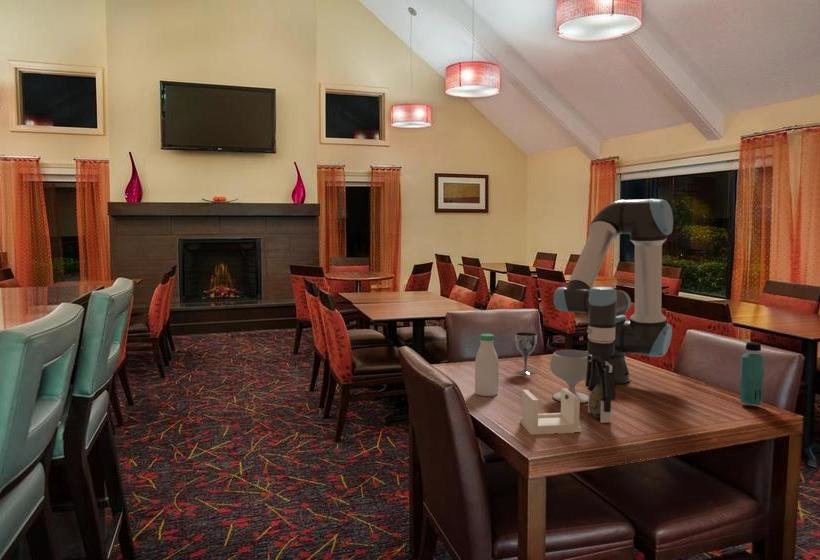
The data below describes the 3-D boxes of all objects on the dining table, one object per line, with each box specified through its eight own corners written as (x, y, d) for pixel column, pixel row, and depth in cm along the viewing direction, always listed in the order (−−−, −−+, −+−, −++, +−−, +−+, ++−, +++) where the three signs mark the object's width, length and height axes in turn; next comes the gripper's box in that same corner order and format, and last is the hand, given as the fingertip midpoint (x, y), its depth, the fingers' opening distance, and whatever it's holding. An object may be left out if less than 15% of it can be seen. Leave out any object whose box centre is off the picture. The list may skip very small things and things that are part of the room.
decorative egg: (609, 422, 170) (610, 388, 169) (587, 420, 172) (588, 386, 172) (610, 416, 176) (611, 382, 175) (589, 413, 178) (590, 381, 177)
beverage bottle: (754, 410, 180) (757, 345, 178) (733, 404, 186) (736, 341, 184) (767, 407, 183) (771, 343, 181) (746, 401, 189) (750, 339, 187)
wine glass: (539, 371, 227) (539, 333, 226) (531, 376, 221) (532, 336, 219) (519, 369, 232) (520, 331, 230) (511, 373, 225) (512, 334, 223)
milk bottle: (497, 397, 195) (498, 337, 193) (473, 396, 196) (474, 336, 194) (498, 390, 202) (499, 332, 200) (475, 389, 204) (476, 332, 202)
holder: (567, 420, 172) (568, 388, 171) (580, 432, 162) (581, 398, 161) (520, 422, 171) (520, 389, 170) (530, 434, 161) (531, 400, 160)
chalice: (545, 392, 200) (546, 348, 199) (587, 392, 200) (588, 348, 198) (554, 405, 186) (555, 358, 185) (599, 405, 186) (600, 358, 184)
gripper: (575, 334, 182) (573, 406, 184) (604, 348, 161) (601, 430, 164) (598, 333, 183) (596, 405, 185) (630, 347, 162) (627, 428, 164)
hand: (599, 417), depth 174 cm, fingers open, 8 cm apart
